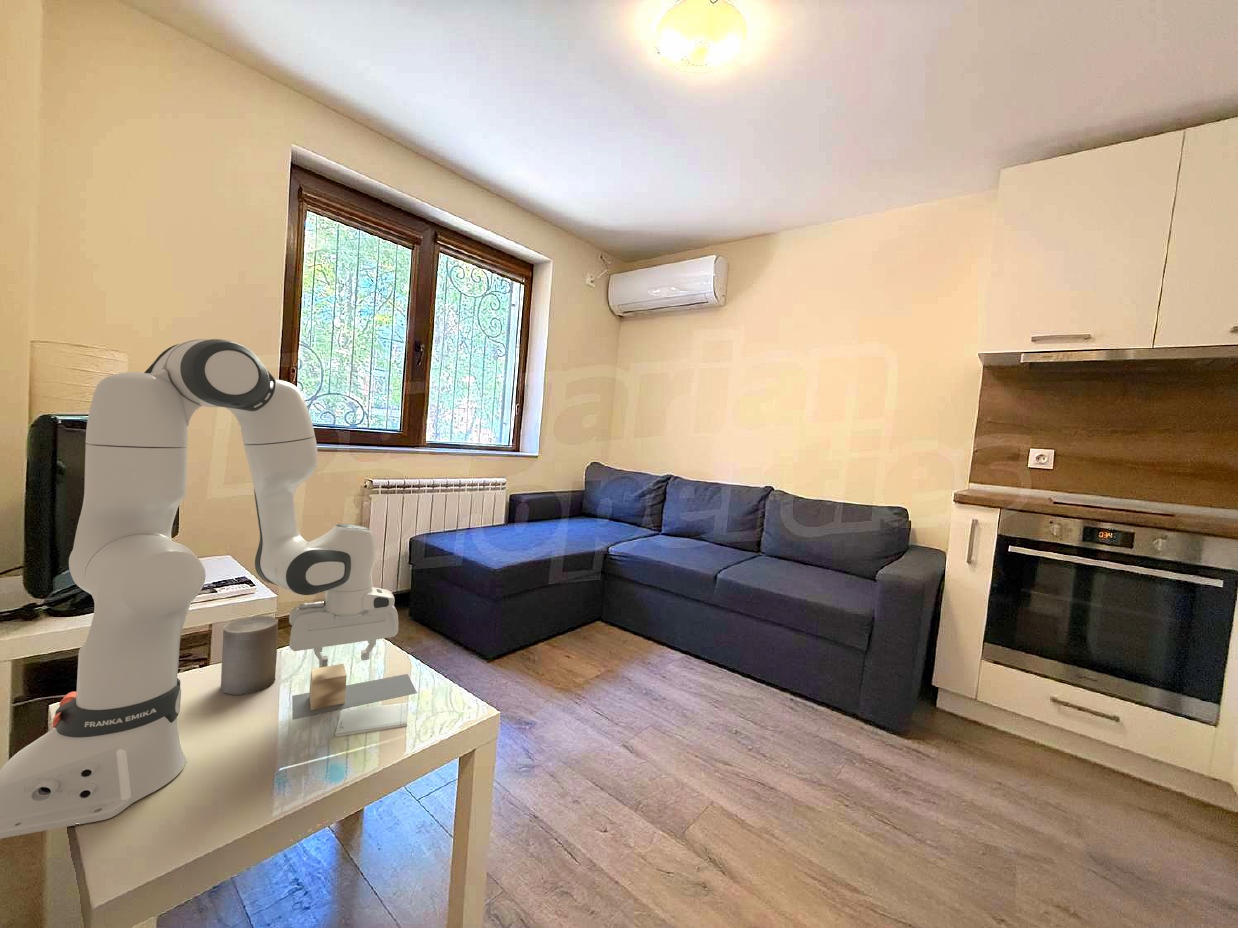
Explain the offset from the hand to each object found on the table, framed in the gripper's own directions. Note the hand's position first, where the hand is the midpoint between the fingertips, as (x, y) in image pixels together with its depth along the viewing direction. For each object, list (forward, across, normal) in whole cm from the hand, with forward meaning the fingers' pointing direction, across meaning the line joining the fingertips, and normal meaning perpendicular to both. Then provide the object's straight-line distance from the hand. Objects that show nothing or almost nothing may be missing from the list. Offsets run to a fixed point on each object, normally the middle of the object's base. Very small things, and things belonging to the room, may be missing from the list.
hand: (344, 662), depth 102 cm
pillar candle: (+8, -17, +15) cm, 24 cm away
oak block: (+2, -3, 0) cm, 3 cm away
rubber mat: (+8, +3, 0) cm, 8 cm away
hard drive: (+9, +4, -12) cm, 15 cm away
